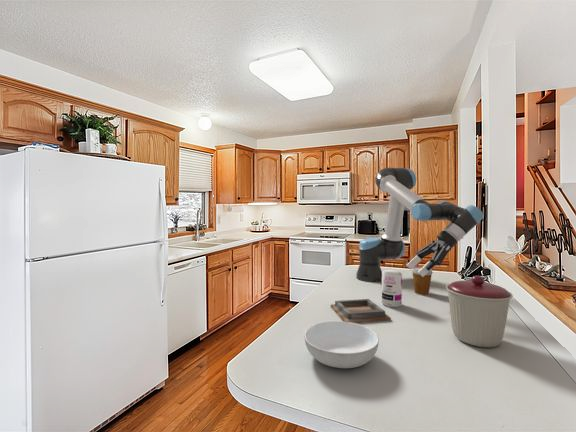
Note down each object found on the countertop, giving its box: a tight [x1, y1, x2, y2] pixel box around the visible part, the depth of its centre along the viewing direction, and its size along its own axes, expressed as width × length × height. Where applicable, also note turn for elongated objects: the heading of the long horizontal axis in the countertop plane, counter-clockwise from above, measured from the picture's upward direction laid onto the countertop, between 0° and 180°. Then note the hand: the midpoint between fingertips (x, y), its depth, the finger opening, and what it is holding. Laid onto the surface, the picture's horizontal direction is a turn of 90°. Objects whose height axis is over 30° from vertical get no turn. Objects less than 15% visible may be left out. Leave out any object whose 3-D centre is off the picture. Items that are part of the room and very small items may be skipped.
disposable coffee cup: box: [411, 266, 433, 296], centre depth 147 cm, size 10×10×12 cm
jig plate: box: [330, 298, 392, 324], centre depth 121 cm, size 18×18×3 cm
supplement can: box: [381, 268, 403, 308], centre depth 130 cm, size 8×8×15 cm
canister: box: [445, 275, 514, 348], centre depth 97 cm, size 18×18×21 cm
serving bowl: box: [303, 320, 380, 369], centre depth 86 cm, size 21×21×7 cm
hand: (414, 270), depth 129 cm, fingers open, 13 cm apart
